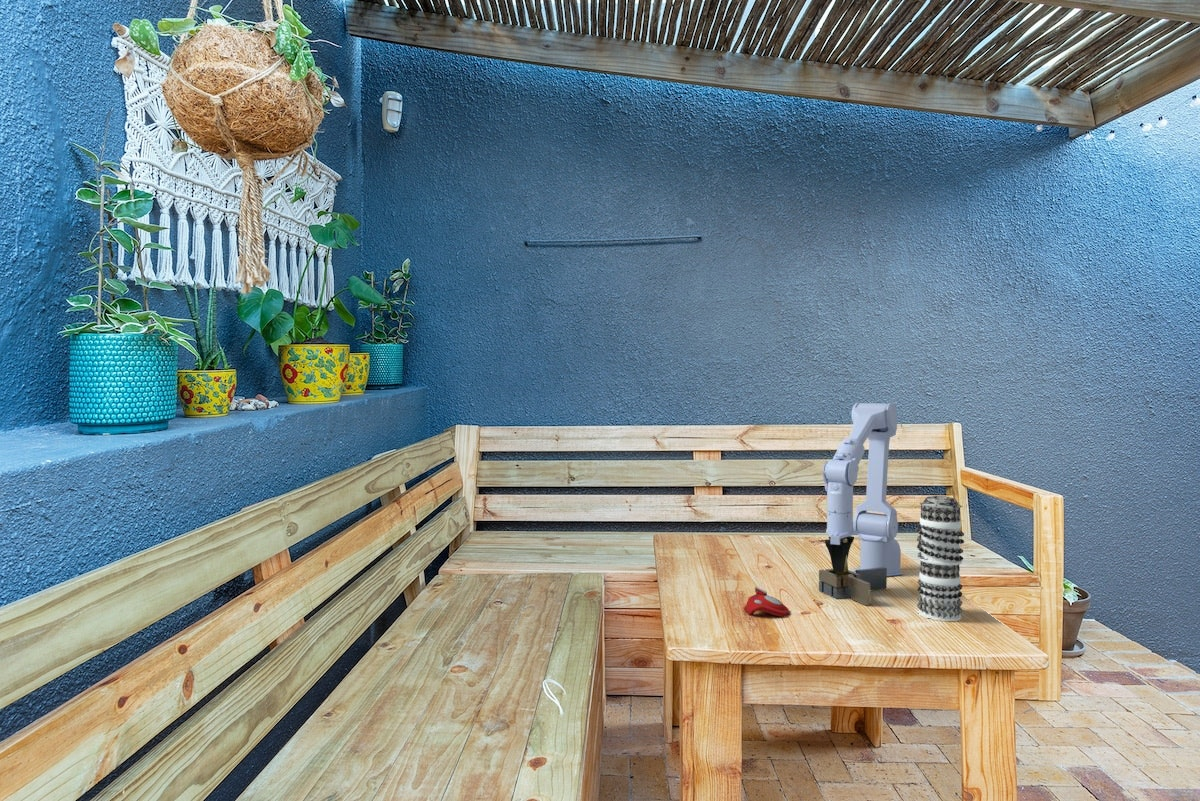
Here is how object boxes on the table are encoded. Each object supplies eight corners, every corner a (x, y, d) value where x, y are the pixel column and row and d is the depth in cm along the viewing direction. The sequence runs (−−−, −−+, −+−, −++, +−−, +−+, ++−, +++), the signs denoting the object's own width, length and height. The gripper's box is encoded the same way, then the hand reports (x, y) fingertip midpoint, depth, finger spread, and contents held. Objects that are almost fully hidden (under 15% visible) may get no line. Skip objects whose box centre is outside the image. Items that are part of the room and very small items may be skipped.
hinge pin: (844, 574, 170) (840, 537, 170) (854, 576, 166) (850, 539, 167) (831, 576, 169) (827, 539, 169) (841, 579, 165) (837, 541, 166)
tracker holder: (800, 610, 153) (766, 606, 148) (792, 628, 154) (759, 625, 149) (763, 583, 164) (730, 578, 159) (756, 601, 164) (724, 597, 159)
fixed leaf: (836, 599, 164) (836, 577, 164) (818, 591, 170) (818, 570, 170) (894, 592, 169) (895, 571, 169) (875, 584, 175) (875, 564, 175)
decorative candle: (905, 611, 155) (906, 495, 154) (937, 606, 158) (938, 493, 158) (941, 624, 146) (942, 502, 146) (973, 618, 150) (974, 499, 149)
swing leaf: (818, 590, 170) (818, 570, 170) (842, 587, 172) (842, 567, 172) (855, 606, 158) (855, 585, 157) (880, 603, 160) (880, 582, 160)
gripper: (854, 518, 159) (853, 578, 160) (861, 507, 172) (861, 564, 173) (821, 515, 162) (820, 575, 163) (831, 505, 175) (830, 560, 176)
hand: (839, 569), depth 168 cm, fingers open, 3 cm apart
